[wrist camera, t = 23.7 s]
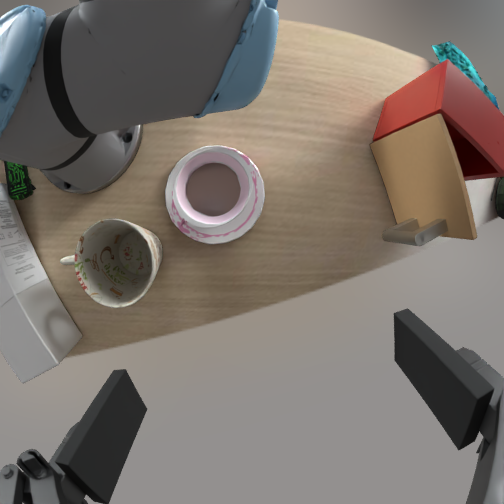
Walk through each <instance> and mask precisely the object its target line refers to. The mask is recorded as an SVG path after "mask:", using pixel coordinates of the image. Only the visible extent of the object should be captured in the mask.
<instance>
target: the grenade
mask: <svg viewBox="0 0 504 504" xmlns="http://www.w3.org/2000/svg"><path fill="white" fill-rule="evenodd" d="M497 178H499V177H497ZM500 179H501V180H500V181H499V184H498V188H497V194H496V210H497V214H498V216H499V217H501V218H502V219H504V177H500ZM496 182H497V179H496ZM495 185H496V183H495ZM494 189H495V187H494ZM493 193H494V190H493ZM492 197H493V194H492ZM491 201H492V198H491Z"/></svg>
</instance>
